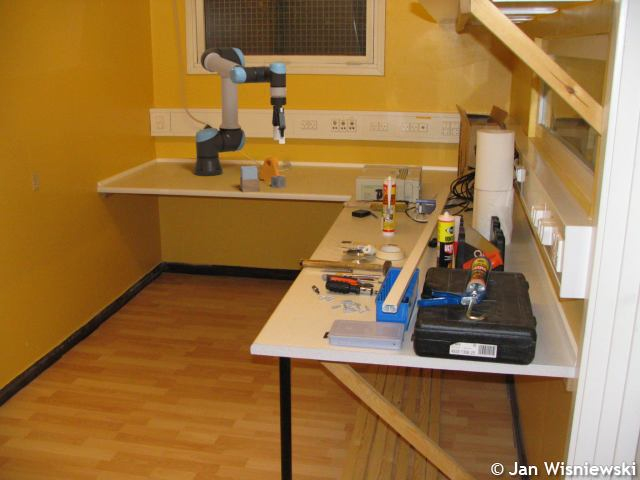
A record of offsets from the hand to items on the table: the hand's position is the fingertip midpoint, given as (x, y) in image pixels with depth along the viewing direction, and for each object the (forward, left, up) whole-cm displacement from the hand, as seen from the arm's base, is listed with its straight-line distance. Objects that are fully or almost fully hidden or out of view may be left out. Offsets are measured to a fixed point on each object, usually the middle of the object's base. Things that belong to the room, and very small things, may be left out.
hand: (279, 141), depth 323 cm
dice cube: (0, -1, -22) cm, 22 cm away
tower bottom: (+4, -15, -22) cm, 27 cm away
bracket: (-16, 0, -22) cm, 27 cm away
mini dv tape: (+67, +48, -22) cm, 85 cm away
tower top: (+4, -16, -16) cm, 23 cm away
